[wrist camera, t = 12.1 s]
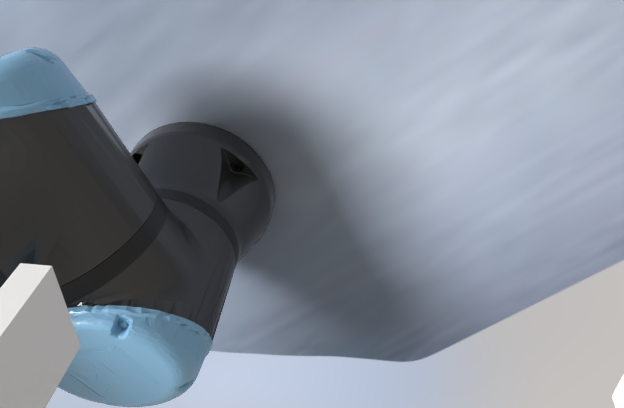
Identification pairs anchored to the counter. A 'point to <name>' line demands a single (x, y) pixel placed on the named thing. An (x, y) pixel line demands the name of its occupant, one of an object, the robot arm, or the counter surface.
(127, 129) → the counter surface
